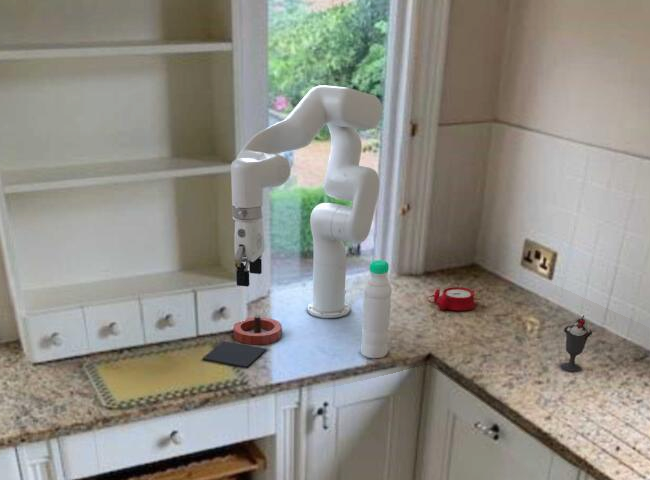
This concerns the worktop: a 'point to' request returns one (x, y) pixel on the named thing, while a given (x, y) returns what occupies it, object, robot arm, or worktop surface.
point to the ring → (257, 338)
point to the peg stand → (257, 325)
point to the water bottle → (376, 312)
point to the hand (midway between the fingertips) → (249, 279)
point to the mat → (234, 354)
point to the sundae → (575, 343)
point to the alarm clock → (454, 299)
